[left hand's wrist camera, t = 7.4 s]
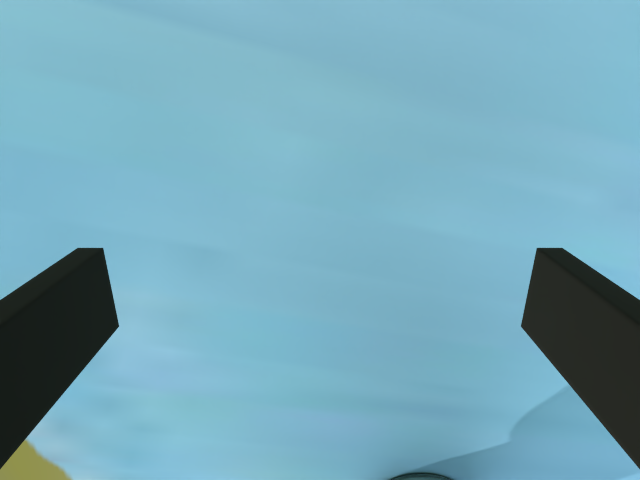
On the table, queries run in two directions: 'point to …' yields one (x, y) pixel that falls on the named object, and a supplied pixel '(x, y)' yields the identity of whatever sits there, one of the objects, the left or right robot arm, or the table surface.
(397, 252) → the table surface
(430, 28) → the table surface
